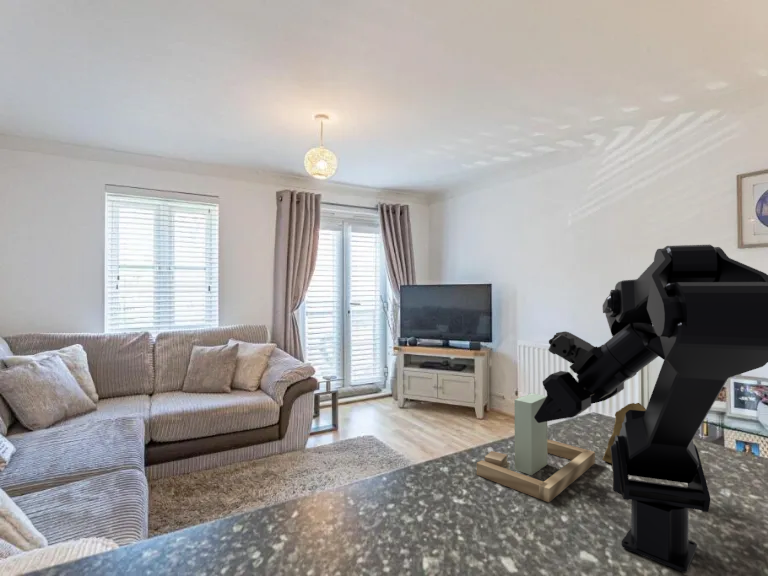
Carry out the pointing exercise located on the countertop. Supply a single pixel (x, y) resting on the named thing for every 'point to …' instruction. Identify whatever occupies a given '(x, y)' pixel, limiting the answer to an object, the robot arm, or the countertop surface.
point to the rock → (620, 426)
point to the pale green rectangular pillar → (529, 435)
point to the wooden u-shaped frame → (553, 484)
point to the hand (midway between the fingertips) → (549, 413)
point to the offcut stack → (497, 459)
